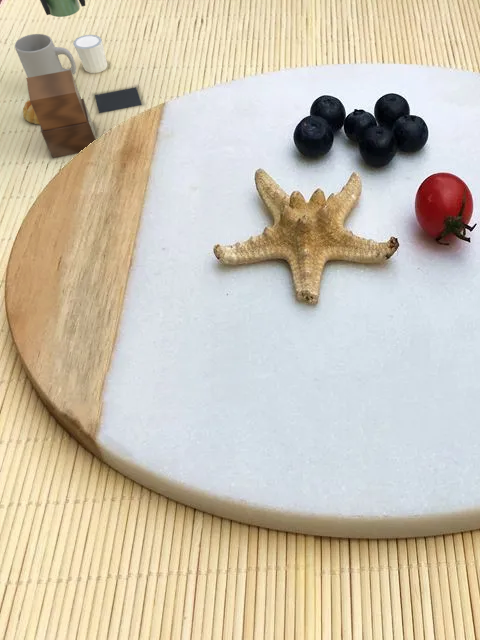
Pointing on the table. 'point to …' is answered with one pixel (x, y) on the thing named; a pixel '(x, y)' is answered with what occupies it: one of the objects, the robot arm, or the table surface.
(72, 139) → the walnut block
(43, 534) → the table surface
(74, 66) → the mug
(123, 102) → the slate mat
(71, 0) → the green canister
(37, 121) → the pastry
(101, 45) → the white cup
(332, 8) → the table surface
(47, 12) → the robot arm
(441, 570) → the table surface
